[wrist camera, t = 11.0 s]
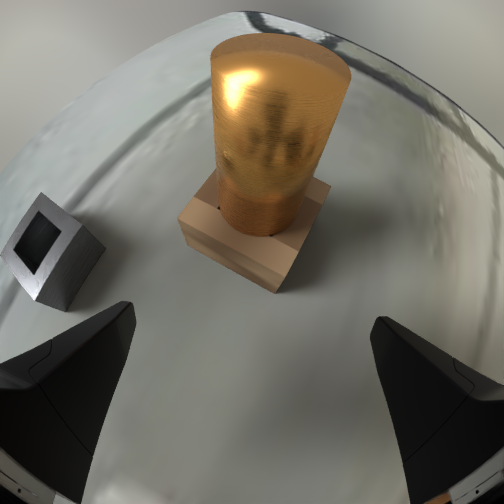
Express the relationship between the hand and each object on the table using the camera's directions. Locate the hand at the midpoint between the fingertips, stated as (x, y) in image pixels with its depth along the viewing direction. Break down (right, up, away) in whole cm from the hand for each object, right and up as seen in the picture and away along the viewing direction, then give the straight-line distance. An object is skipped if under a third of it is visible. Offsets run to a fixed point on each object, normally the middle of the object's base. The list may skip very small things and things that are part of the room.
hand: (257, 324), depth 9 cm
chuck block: (-15, +2, +9) cm, 18 cm away
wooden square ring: (0, +4, +11) cm, 12 cm away
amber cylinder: (0, +4, +10) cm, 11 cm away
